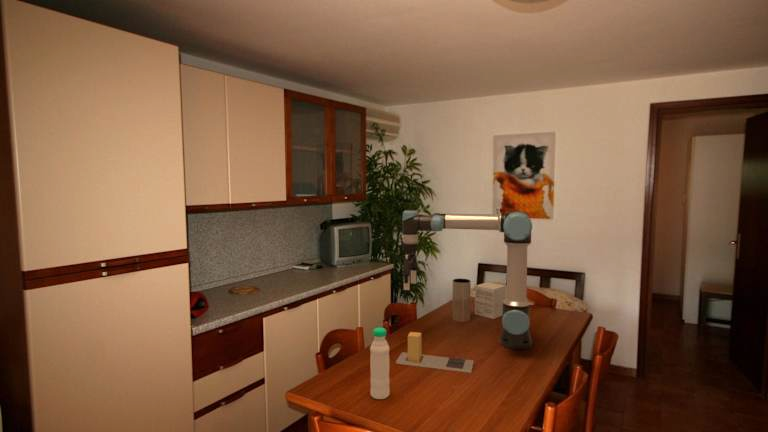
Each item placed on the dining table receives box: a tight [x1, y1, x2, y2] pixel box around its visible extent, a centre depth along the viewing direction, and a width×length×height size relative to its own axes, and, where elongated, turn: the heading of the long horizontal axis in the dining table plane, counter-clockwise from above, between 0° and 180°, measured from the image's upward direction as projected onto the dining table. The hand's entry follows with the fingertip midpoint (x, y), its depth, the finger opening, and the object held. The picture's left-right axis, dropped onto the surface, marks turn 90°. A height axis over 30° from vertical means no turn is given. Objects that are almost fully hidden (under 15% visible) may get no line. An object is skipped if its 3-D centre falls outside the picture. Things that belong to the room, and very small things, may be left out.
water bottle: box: [369, 327, 391, 400], centre depth 160 cm, size 7×7×25 cm
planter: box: [451, 278, 472, 323], centre depth 248 cm, size 10×10×23 cm
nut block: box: [407, 331, 423, 362], centre depth 191 cm, size 5×5×12 cm
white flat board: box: [395, 352, 475, 374], centre depth 189 cm, size 32×10×1 cm, turn 73°
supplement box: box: [474, 281, 507, 320], centre depth 258 cm, size 13×13×18 cm
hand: (410, 286), depth 211 cm, fingers open, 13 cm apart
